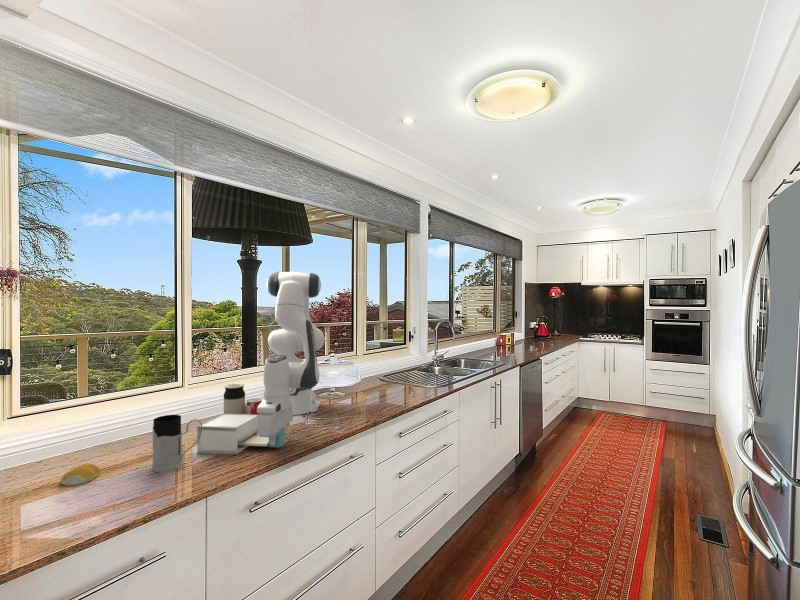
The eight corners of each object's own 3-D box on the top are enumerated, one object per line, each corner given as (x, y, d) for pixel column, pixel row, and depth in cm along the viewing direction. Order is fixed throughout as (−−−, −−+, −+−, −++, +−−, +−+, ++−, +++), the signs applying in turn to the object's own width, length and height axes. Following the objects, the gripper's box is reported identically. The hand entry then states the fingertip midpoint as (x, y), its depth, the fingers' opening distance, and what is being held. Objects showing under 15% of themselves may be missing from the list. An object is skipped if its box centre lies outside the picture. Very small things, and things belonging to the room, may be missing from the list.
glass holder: (154, 462, 129) (154, 415, 130) (203, 456, 134) (203, 411, 135) (148, 473, 121) (148, 423, 121) (200, 466, 126) (200, 418, 126)
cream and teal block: (235, 439, 149) (235, 428, 149) (287, 441, 146) (287, 430, 146) (223, 446, 141) (222, 435, 141) (277, 449, 138) (277, 437, 138)
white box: (224, 437, 154) (224, 413, 154) (260, 439, 152) (260, 414, 152) (197, 452, 138) (197, 426, 138) (238, 454, 136) (237, 427, 136)
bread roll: (104, 472, 123) (104, 458, 123) (89, 484, 114) (89, 470, 114) (73, 474, 121) (73, 461, 121) (54, 488, 113) (54, 473, 113)
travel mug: (230, 434, 157) (230, 388, 157) (219, 430, 162) (219, 385, 162) (249, 429, 163) (248, 384, 164) (238, 425, 168) (238, 382, 168)
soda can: (241, 431, 161) (241, 401, 161) (255, 426, 167) (254, 397, 167) (253, 433, 158) (253, 403, 158) (267, 428, 164) (267, 399, 164)
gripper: (281, 395, 153) (281, 432, 153) (254, 409, 133) (254, 451, 133) (297, 395, 152) (297, 432, 152) (272, 410, 132) (272, 452, 132)
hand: (277, 441), depth 142 cm, fingers closed on cream and teal block, 4 cm apart
